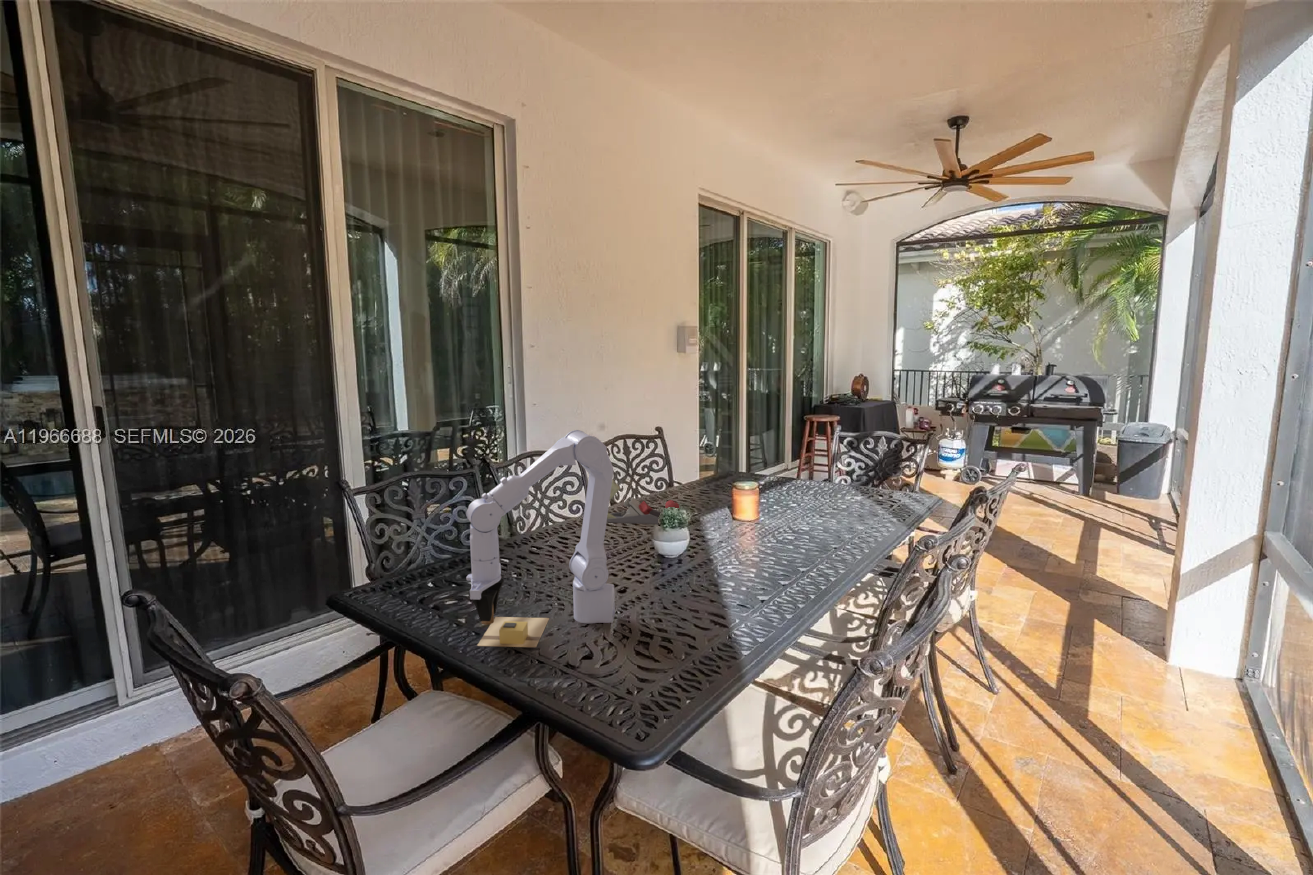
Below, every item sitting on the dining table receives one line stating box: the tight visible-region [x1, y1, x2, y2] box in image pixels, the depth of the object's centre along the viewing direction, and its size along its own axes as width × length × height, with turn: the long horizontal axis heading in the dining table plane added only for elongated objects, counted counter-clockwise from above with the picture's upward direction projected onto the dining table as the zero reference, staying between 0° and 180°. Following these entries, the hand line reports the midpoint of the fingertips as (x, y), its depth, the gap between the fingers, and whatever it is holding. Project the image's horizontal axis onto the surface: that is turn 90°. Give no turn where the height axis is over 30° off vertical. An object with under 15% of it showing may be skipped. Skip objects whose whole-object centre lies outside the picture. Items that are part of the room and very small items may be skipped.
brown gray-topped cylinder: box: [480, 608, 495, 626], centre depth 130 cm, size 3×3×6 cm
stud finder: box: [499, 621, 528, 644], centre depth 131 cm, size 5×4×3 cm
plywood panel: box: [476, 616, 550, 648], centre depth 134 cm, size 12×13×1 cm
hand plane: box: [606, 479, 680, 525], centre depth 215 cm, size 7×31×15 cm, turn 84°
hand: (487, 616), depth 131 cm, fingers closed on brown gray-topped cylinder, 3 cm apart
